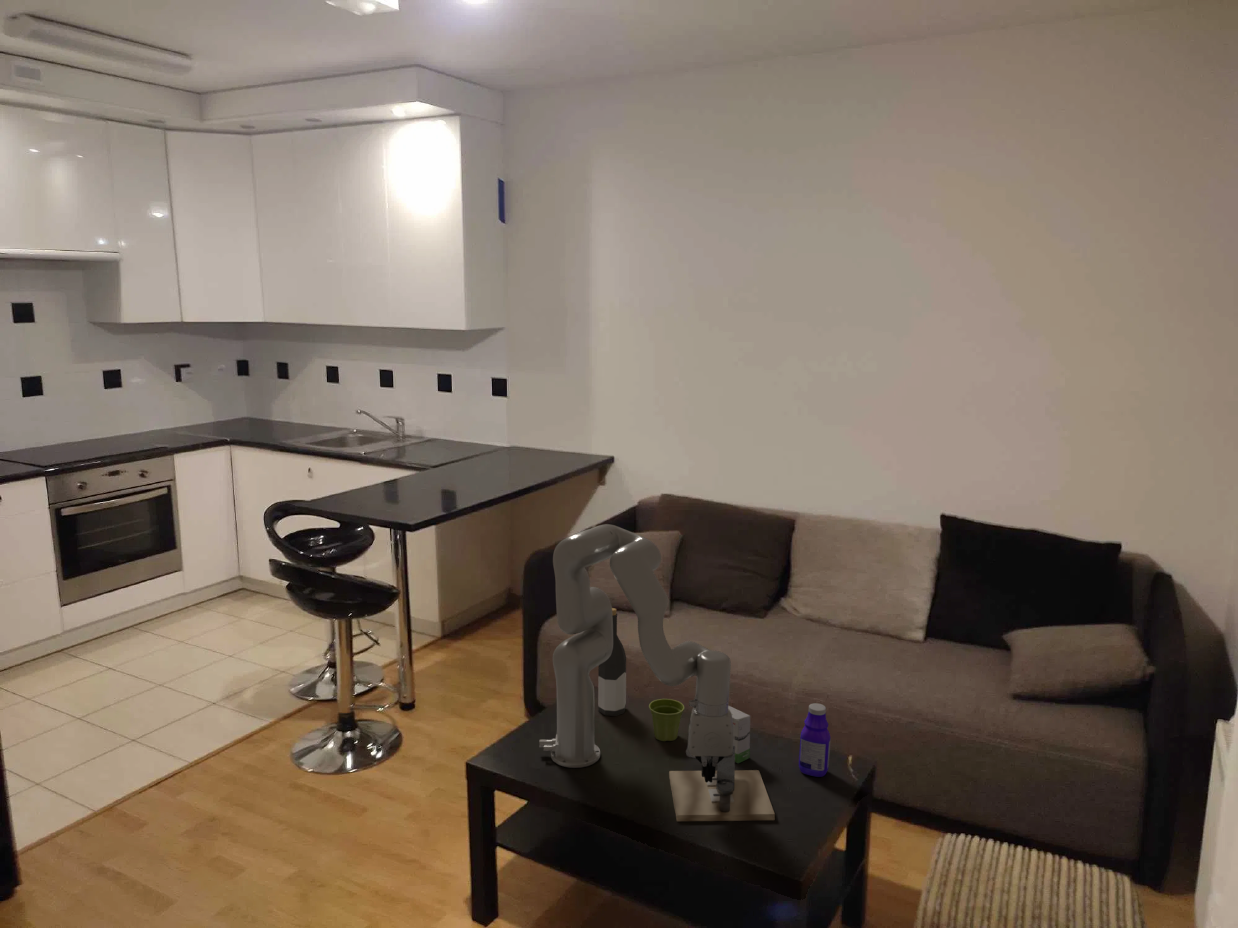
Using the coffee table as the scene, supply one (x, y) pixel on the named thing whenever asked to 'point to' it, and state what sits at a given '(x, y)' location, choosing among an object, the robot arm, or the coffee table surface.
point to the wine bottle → (613, 678)
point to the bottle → (815, 742)
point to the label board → (710, 811)
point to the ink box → (741, 734)
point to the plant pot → (666, 718)
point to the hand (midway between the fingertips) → (708, 778)
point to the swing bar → (726, 775)
